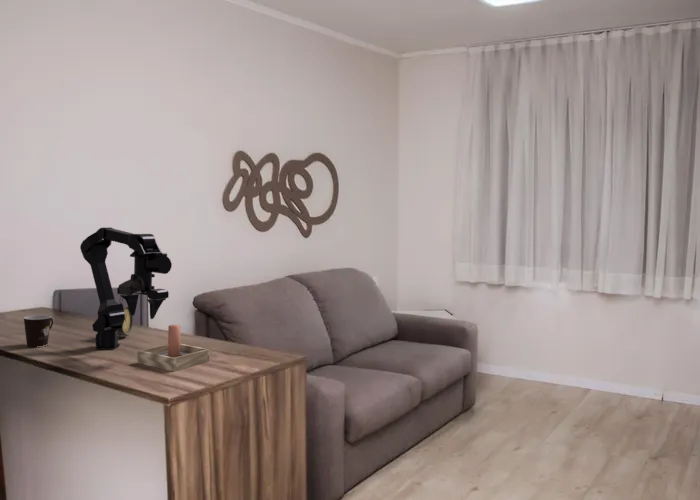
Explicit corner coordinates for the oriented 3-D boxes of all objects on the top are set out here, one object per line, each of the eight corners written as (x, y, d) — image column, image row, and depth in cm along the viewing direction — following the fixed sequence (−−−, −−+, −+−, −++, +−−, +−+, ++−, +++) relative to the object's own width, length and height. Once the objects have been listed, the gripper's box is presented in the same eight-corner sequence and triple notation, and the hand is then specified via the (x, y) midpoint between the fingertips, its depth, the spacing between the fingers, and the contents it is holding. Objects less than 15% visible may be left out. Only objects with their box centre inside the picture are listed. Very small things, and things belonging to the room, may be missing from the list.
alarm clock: (122, 341, 230) (123, 297, 229) (107, 340, 230) (108, 297, 229) (133, 335, 241) (134, 293, 240) (119, 334, 241) (120, 292, 240)
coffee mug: (30, 349, 212) (31, 320, 211) (18, 345, 217) (18, 316, 216) (64, 344, 221) (64, 316, 221) (51, 340, 226) (51, 313, 226)
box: (209, 361, 207) (209, 349, 207) (173, 371, 193) (174, 358, 193) (174, 353, 215) (174, 342, 215) (137, 363, 201) (137, 350, 201)
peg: (177, 360, 207) (178, 324, 206) (181, 362, 203) (182, 326, 202) (166, 361, 205) (166, 325, 204) (169, 364, 201) (170, 327, 200)
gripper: (104, 270, 207) (103, 316, 208) (144, 275, 198) (143, 324, 199) (131, 268, 216) (130, 312, 218) (170, 273, 207) (169, 319, 208)
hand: (142, 317), depth 210 cm, fingers open, 9 cm apart
